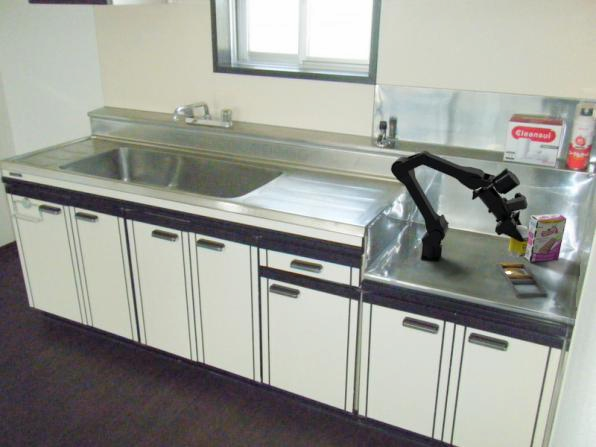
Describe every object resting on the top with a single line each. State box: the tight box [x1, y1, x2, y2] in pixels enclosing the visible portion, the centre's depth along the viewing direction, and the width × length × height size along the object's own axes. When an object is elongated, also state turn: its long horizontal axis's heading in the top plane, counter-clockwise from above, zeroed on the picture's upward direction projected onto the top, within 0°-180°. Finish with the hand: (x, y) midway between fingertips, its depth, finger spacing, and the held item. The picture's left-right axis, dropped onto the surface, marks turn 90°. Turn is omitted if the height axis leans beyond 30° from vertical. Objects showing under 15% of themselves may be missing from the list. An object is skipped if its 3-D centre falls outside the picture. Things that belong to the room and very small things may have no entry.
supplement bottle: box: [507, 224, 529, 259], centre depth 193 cm, size 6×6×10 cm
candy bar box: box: [523, 213, 567, 263], centre depth 203 cm, size 11×5×16 cm, turn 100°
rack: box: [495, 261, 548, 298], centre depth 191 cm, size 22×10×1 cm, turn 178°
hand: (523, 237), depth 191 cm, fingers closed on supplement bottle, 5 cm apart
